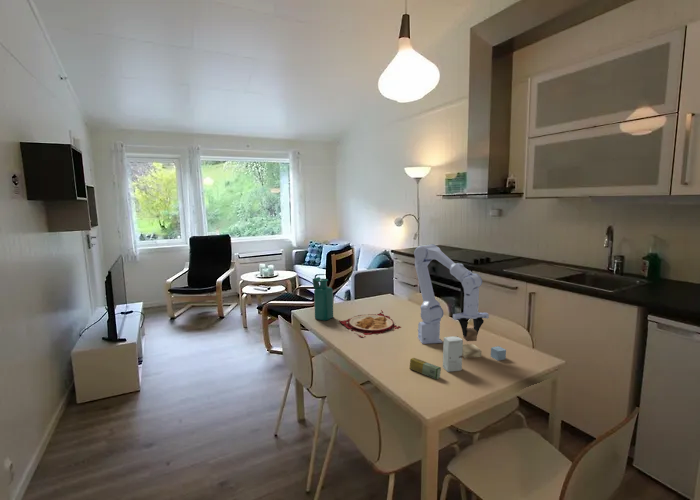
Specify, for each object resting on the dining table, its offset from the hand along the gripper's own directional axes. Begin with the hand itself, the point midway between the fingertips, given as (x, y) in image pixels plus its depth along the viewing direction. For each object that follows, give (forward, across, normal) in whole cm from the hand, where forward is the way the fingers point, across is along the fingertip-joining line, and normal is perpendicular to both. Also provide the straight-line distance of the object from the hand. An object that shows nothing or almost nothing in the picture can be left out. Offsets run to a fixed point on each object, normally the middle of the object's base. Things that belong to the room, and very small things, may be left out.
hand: (470, 335), depth 149 cm
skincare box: (+8, -12, -12) cm, 19 cm away
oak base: (+8, 0, 0) cm, 8 cm away
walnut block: (+2, 0, 0) cm, 2 cm away
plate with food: (+9, -35, +39) cm, 53 cm away
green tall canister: (+8, -60, +54) cm, 81 cm away
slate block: (+8, +10, -5) cm, 14 cm away
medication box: (+8, -24, -14) cm, 29 cm away
